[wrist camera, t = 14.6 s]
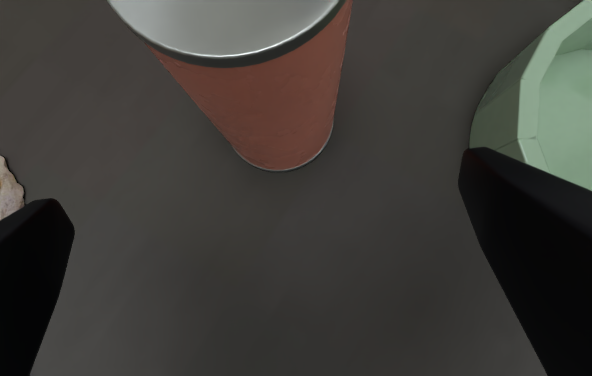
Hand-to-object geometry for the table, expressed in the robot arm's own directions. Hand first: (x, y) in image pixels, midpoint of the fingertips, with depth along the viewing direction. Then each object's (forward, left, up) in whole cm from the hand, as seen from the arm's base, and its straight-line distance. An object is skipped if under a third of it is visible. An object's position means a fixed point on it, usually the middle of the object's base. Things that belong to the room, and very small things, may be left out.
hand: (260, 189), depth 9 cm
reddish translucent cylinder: (+5, -3, -12) cm, 13 cm away
